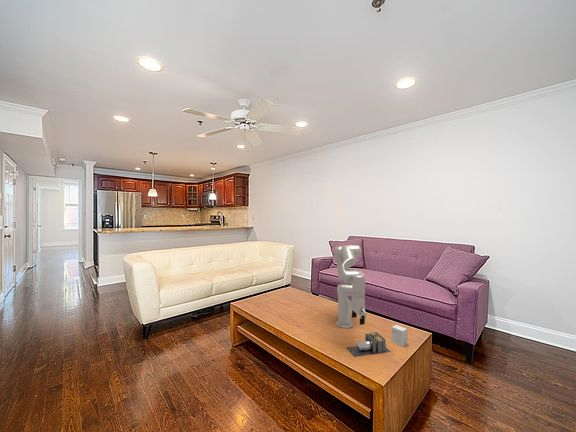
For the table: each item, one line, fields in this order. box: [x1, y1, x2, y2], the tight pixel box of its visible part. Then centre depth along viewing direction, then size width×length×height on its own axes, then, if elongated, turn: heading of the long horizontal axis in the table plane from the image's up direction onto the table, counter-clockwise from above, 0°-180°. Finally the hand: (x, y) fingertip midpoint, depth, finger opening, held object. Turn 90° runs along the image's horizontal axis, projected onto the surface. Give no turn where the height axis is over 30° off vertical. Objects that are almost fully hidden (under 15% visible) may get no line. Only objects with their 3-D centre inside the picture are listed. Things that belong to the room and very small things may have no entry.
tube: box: [355, 340, 387, 351], centre depth 162 cm, size 18×5×5 cm, turn 103°
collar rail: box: [345, 331, 392, 358], centre depth 161 cm, size 11×25×9 cm, turn 103°
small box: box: [391, 324, 408, 347], centre depth 169 cm, size 8×6×10 cm
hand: (358, 320), depth 162 cm, fingers open, 9 cm apart
